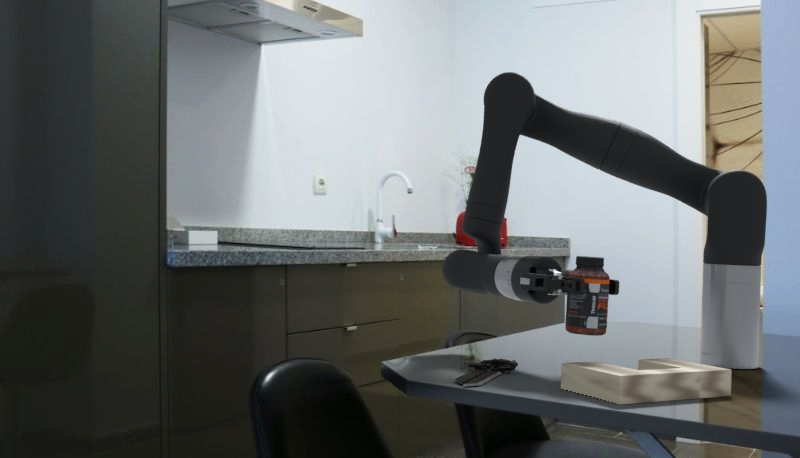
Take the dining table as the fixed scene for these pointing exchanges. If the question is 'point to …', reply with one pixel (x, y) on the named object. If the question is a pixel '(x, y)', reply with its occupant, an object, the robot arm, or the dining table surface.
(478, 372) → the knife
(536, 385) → the dining table surface
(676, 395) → the slot dock
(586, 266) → the supplement bottle
